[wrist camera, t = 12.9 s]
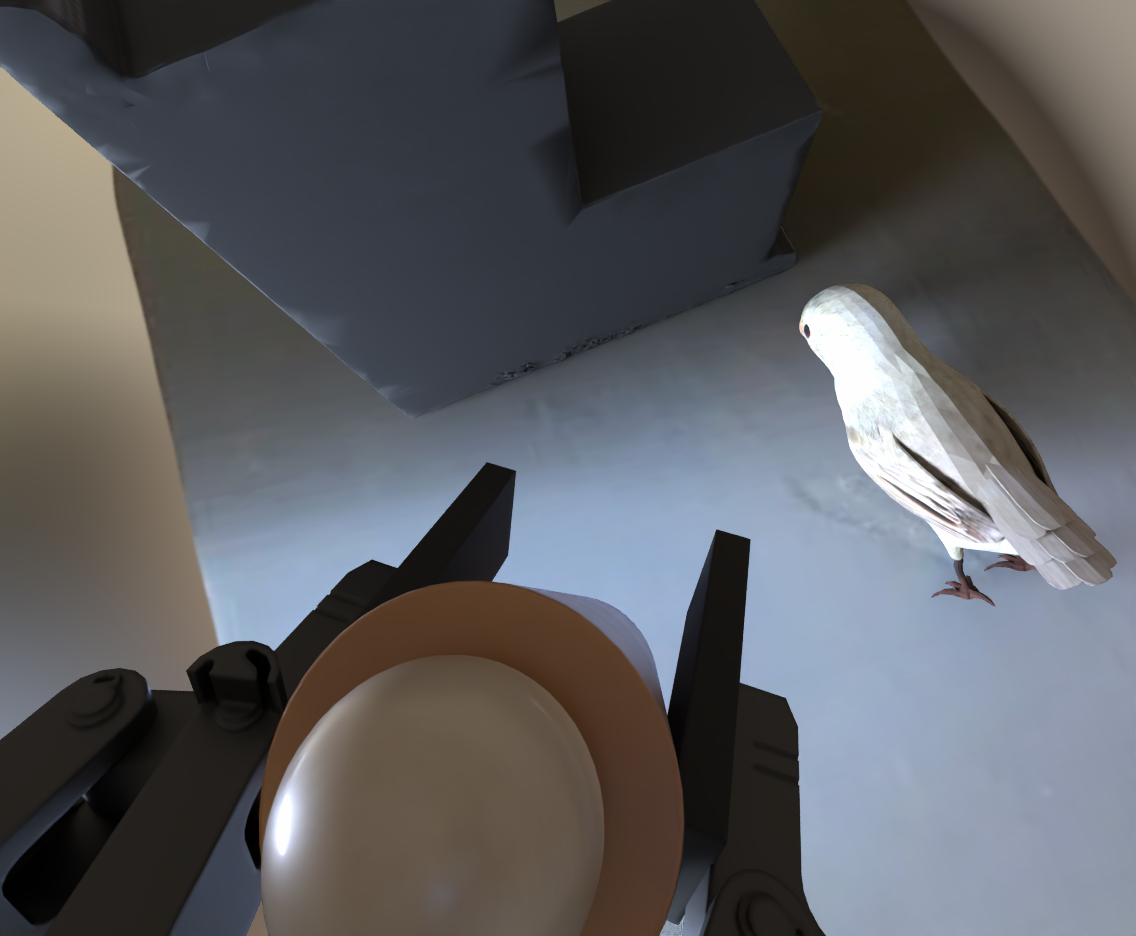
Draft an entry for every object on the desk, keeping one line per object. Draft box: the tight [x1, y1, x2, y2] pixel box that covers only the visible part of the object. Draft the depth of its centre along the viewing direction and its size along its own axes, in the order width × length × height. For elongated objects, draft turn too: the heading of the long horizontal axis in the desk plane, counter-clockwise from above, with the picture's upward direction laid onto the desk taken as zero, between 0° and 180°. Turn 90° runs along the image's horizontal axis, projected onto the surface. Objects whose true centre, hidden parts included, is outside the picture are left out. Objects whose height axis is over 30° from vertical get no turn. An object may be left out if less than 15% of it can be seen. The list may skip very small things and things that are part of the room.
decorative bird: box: [800, 283, 1117, 606], centre depth 26 cm, size 5×16×8 cm, turn 26°
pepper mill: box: [259, 581, 684, 936], centre depth 11 cm, size 5×5×13 cm
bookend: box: [0, 0, 822, 418], centre depth 23 cm, size 23×11×24 cm, turn 110°
